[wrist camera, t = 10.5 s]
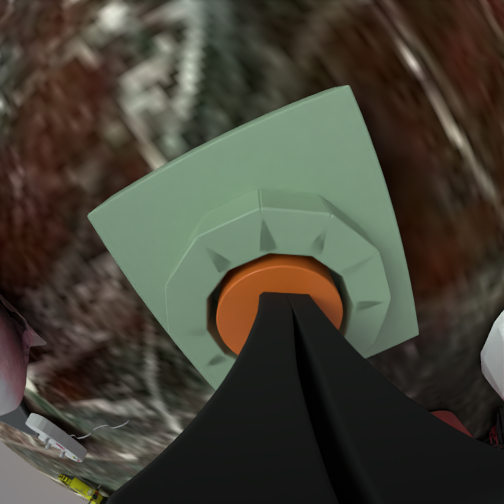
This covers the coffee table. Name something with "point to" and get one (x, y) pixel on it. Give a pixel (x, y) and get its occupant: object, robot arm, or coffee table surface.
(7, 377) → the onion
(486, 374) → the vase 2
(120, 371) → the coffee table surface
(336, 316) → the button
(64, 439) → the game controller
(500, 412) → the toy spacecraft
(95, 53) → the coffee table surface
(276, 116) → the button block
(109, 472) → the coffee table surface
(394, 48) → the coffee table surface
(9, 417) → the smartphone
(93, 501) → the toy motorcycle
